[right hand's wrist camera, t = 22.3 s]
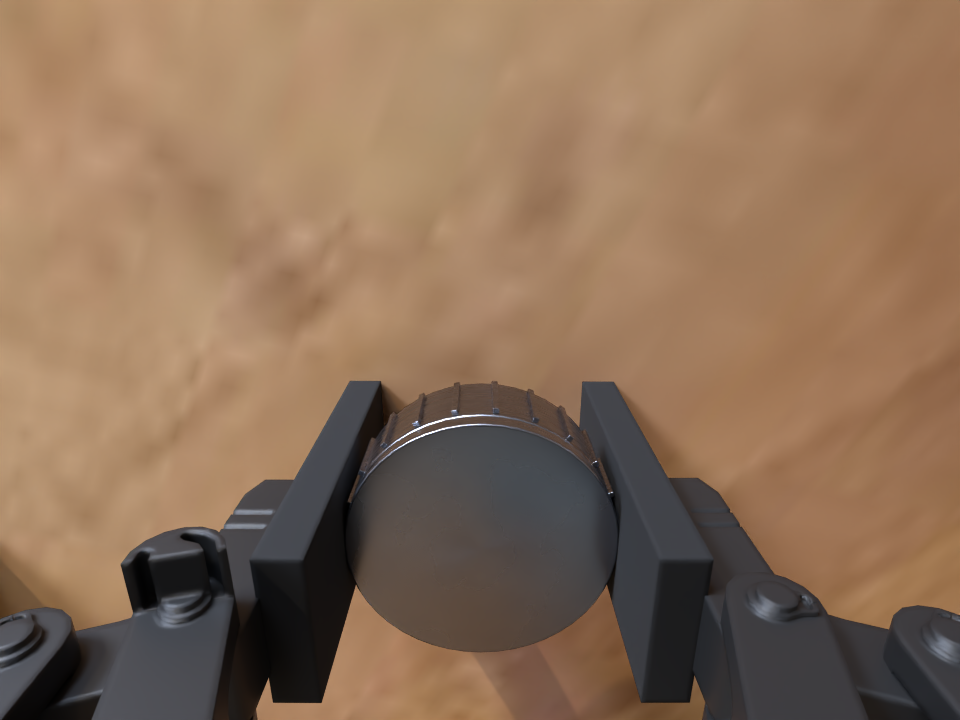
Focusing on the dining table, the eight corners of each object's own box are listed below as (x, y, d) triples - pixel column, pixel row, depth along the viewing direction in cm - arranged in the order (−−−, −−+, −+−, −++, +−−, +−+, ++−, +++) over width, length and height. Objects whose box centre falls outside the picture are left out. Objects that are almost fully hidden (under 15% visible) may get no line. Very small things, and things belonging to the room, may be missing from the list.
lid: (432, 333, 11) (423, 367, 9) (652, 453, 12) (681, 505, 10) (318, 527, 13) (293, 588, 11) (521, 621, 13) (527, 691, 12)
